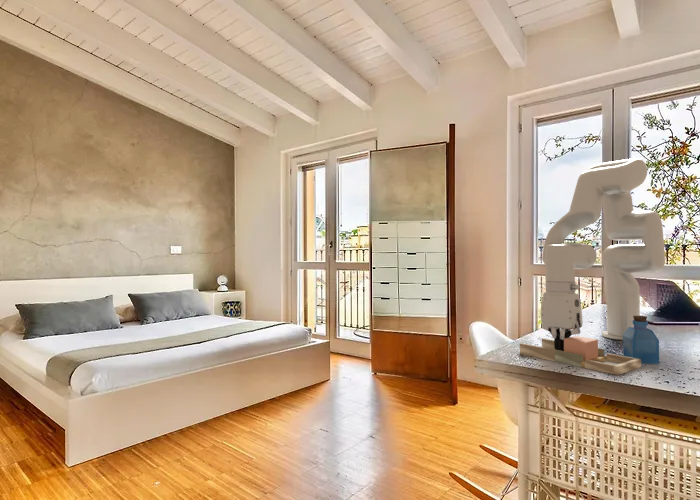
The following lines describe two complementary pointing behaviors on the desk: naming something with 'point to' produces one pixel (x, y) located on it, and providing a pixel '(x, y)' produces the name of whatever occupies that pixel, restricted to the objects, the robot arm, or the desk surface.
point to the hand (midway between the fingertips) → (561, 352)
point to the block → (582, 347)
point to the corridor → (602, 363)
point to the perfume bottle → (641, 342)
